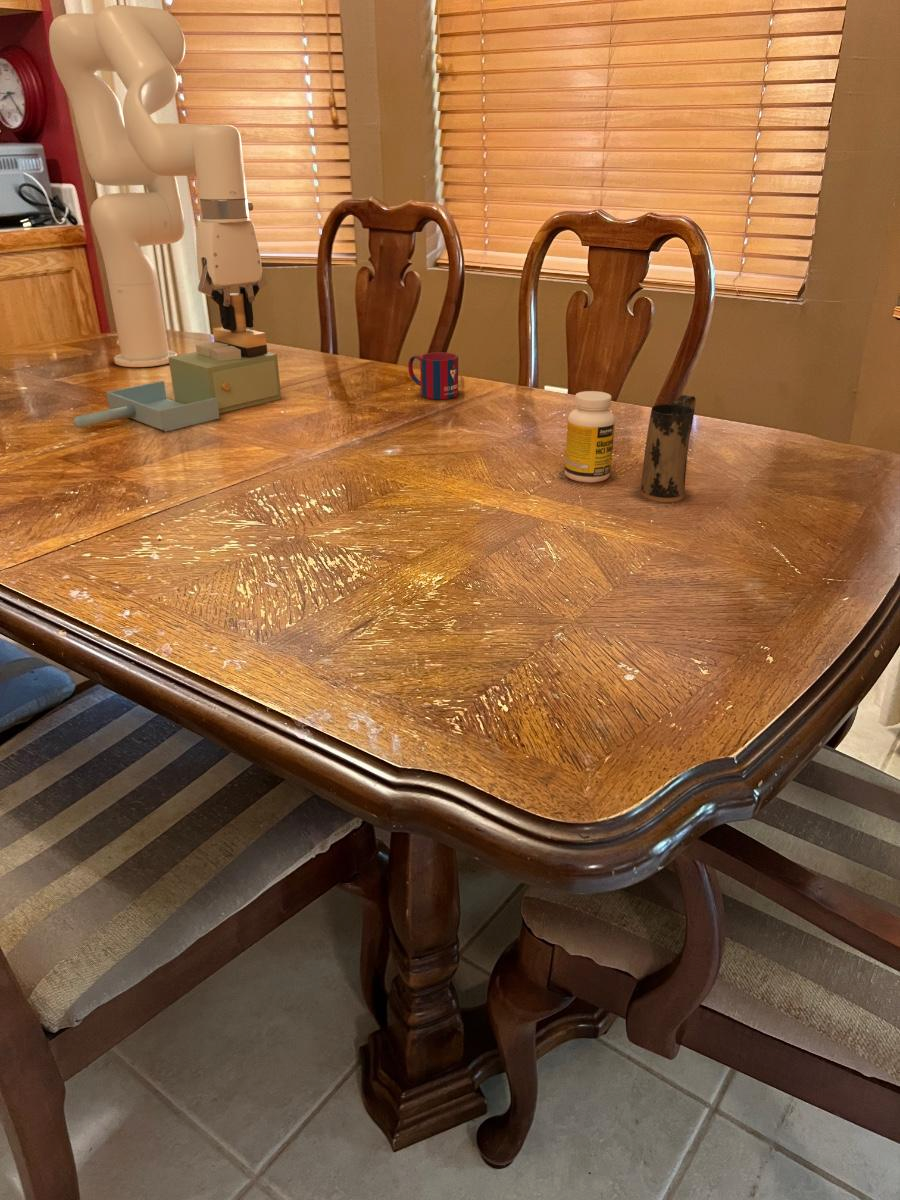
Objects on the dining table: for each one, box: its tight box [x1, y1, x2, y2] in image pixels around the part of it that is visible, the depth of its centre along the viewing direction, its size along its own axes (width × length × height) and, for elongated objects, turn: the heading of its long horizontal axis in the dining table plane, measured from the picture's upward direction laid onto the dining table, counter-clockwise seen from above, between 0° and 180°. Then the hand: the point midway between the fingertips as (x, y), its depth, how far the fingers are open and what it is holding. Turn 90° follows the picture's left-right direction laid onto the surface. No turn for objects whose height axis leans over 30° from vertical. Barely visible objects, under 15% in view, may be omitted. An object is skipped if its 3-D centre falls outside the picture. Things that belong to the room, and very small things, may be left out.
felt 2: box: [210, 346, 241, 361], centre depth 146 cm, size 4×4×2 cm
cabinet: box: [168, 351, 282, 415], centre depth 149 cm, size 13×14×8 cm
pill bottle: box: [563, 390, 616, 484], centre depth 114 cm, size 6×6×11 cm
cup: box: [407, 351, 459, 400], centre depth 154 cm, size 7×10×7 cm
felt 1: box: [195, 341, 229, 357], centre depth 149 cm, size 4×4×2 cm
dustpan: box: [72, 380, 220, 433], centre depth 139 cm, size 20×17×3 cm
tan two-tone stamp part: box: [212, 292, 268, 357], centre depth 148 cm, size 10×4×10 cm, turn 47°
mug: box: [640, 394, 697, 503], centre depth 108 cm, size 8×6×12 cm
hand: (238, 327), depth 148 cm, fingers closed on tan two-tone stamp part, 2 cm apart
